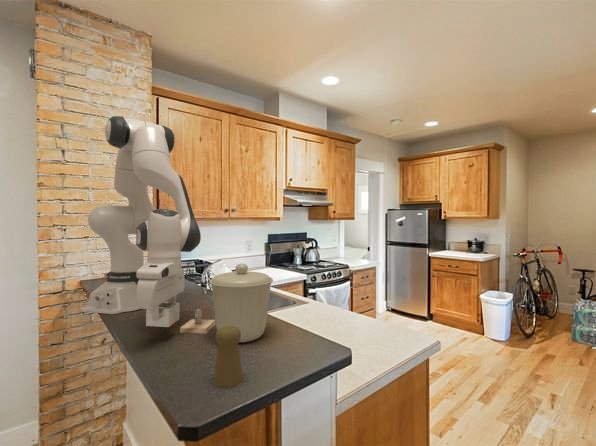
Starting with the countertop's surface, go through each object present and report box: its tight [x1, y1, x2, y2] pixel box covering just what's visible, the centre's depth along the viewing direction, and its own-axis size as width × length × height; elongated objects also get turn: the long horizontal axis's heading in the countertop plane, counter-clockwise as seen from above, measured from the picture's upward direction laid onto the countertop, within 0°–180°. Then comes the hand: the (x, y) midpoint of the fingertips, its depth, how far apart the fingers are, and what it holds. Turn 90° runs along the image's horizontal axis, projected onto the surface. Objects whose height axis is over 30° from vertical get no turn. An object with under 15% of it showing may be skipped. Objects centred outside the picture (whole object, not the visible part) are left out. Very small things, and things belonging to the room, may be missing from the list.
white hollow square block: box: [145, 301, 181, 328], centre depth 88 cm, size 6×6×5 cm
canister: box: [208, 263, 274, 344], centre depth 90 cm, size 18×18×21 cm
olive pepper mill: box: [212, 326, 244, 389], centre depth 65 cm, size 6×6×11 cm
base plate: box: [179, 308, 216, 334], centre depth 96 cm, size 8×8×6 cm
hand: (163, 315), depth 88 cm, fingers closed on white hollow square block, 6 cm apart
